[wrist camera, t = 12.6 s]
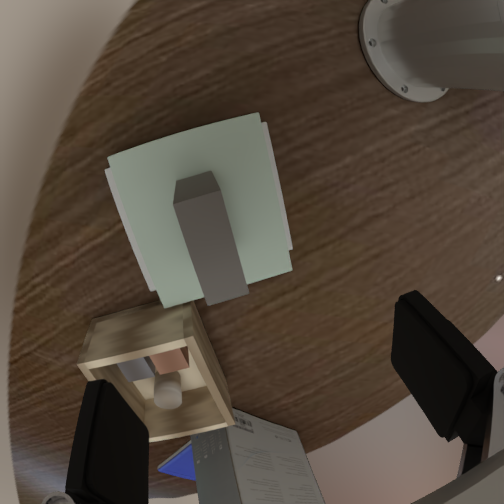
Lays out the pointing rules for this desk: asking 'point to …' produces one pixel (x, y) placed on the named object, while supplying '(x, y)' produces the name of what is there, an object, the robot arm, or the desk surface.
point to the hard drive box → (253, 464)
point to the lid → (204, 210)
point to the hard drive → (180, 463)
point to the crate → (160, 368)
